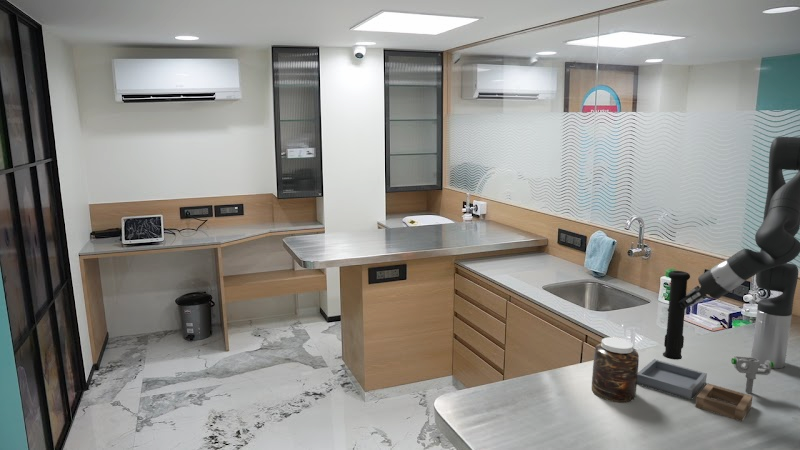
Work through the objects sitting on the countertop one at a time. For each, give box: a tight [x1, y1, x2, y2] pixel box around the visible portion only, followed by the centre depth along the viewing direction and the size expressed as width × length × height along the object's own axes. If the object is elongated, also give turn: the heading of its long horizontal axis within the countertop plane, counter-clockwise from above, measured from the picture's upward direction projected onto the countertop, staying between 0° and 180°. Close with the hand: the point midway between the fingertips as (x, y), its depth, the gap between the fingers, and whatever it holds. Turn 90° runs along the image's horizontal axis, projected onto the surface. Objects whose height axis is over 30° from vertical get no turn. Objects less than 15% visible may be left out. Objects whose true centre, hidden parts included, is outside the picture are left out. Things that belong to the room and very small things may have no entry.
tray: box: [637, 358, 708, 401], centre depth 165 cm, size 15×15×3 cm
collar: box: [695, 383, 753, 422], centre depth 151 cm, size 11×11×3 cm
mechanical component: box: [730, 356, 774, 395], centre depth 159 cm, size 3×10×10 cm, turn 78°
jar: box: [591, 336, 640, 403], centre depth 157 cm, size 12×12×15 cm
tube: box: [662, 270, 691, 361], centre depth 160 cm, size 25×6×6 cm
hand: (670, 311), depth 163 cm, fingers closed on tube, 1 cm apart
